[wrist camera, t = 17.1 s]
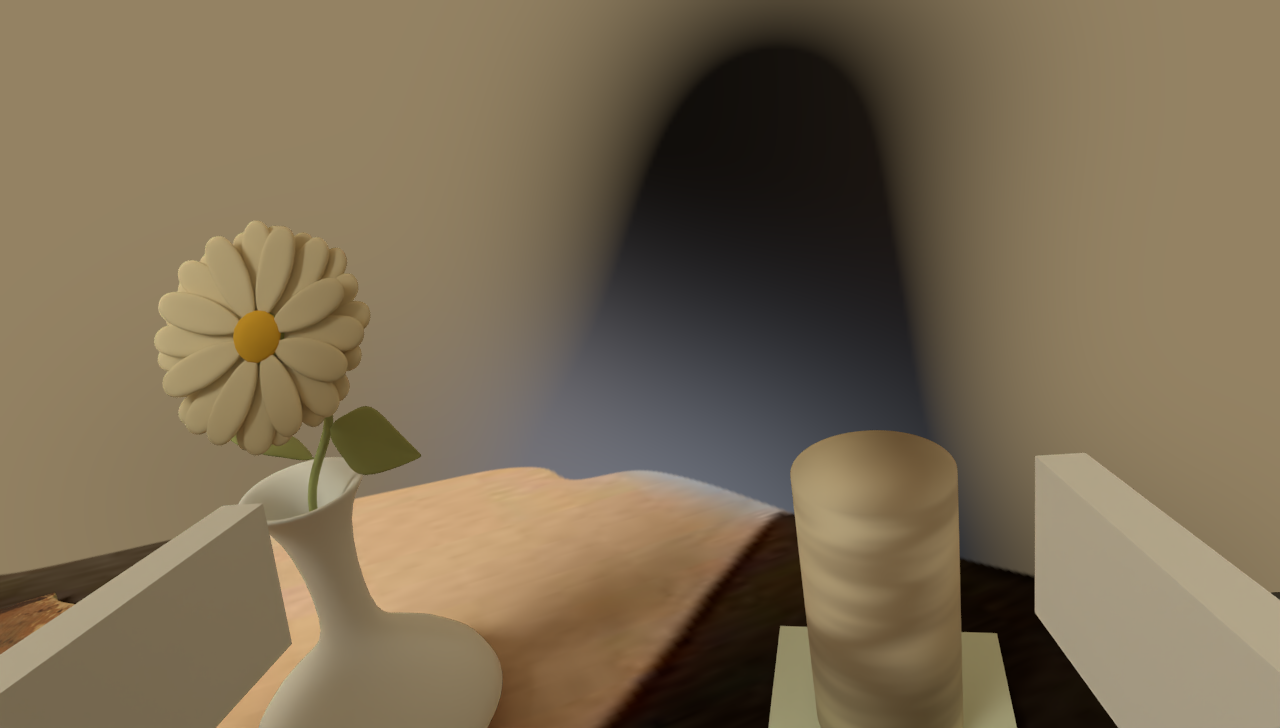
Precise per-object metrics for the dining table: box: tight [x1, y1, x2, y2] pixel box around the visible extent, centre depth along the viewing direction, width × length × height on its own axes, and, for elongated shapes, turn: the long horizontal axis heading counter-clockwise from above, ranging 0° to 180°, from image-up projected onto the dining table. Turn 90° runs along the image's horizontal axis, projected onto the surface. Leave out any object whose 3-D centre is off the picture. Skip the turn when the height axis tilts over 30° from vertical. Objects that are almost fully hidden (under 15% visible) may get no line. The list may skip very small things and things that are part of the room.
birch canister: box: [790, 430, 963, 728], centre depth 34 cm, size 6×6×12 cm
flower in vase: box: [154, 220, 503, 728], centre depth 35 cm, size 13×11×25 cm
